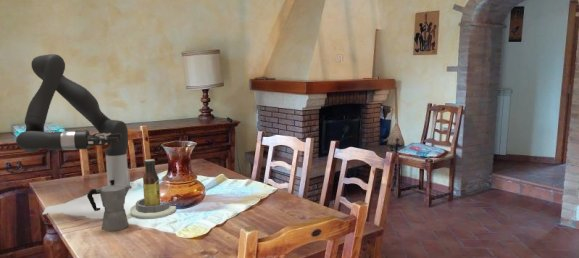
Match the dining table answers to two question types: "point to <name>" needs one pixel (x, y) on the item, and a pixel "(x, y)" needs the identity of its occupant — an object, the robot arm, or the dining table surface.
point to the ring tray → (152, 215)
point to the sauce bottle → (151, 184)
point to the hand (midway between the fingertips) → (119, 138)
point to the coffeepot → (112, 205)
